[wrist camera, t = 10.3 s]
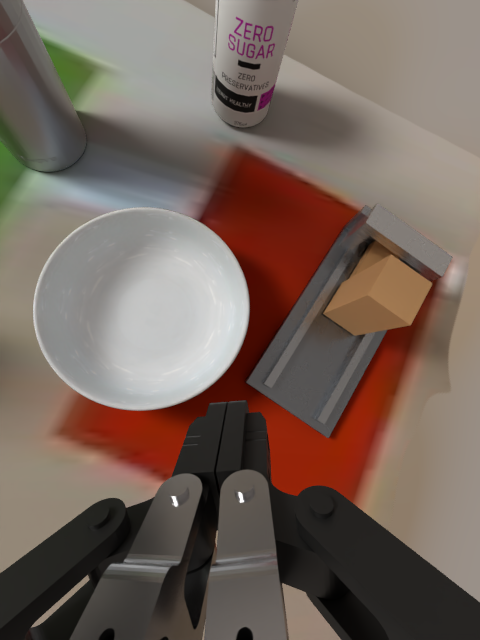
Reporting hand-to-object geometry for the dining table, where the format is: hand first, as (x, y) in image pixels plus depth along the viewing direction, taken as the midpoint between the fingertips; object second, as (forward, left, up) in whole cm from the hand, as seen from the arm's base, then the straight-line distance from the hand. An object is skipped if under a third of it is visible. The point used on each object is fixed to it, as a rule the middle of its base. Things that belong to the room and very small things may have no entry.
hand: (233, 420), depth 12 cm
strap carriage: (-11, +20, -22) cm, 32 cm away
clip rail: (-7, +17, -24) cm, 30 cm away
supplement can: (-39, +6, -24) cm, 46 cm away
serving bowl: (-9, -6, -24) cm, 27 cm away
